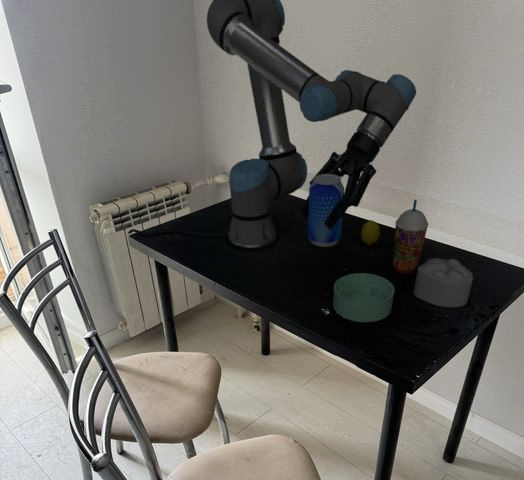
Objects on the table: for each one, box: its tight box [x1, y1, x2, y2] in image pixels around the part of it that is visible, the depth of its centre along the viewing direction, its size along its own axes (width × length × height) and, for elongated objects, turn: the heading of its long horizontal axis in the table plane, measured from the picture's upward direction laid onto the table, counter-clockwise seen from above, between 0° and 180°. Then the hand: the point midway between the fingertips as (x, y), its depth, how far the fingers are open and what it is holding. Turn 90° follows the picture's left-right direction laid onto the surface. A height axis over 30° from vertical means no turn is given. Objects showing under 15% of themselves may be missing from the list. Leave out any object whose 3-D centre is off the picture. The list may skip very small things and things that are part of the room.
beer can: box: [307, 174, 345, 248], centre depth 124 cm, size 8×8×16 cm
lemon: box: [360, 219, 381, 246], centre depth 150 cm, size 6×6×8 cm
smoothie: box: [392, 199, 429, 275], centre depth 134 cm, size 8×8×20 cm
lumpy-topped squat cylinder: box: [413, 257, 474, 308], centre depth 127 cm, size 10×13×9 cm
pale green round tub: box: [332, 272, 396, 323], centre depth 125 cm, size 15×15×6 cm
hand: (315, 220), depth 124 cm, fingers closed on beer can, 8 cm apart
